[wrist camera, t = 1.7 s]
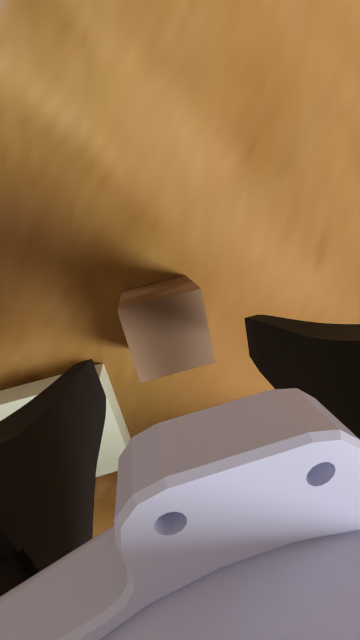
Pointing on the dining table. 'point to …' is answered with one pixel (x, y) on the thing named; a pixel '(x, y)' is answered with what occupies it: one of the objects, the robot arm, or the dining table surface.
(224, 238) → the dining table surface
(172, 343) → the walnut cube
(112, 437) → the base brick
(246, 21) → the dining table surface
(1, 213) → the dining table surface
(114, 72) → the dining table surface
